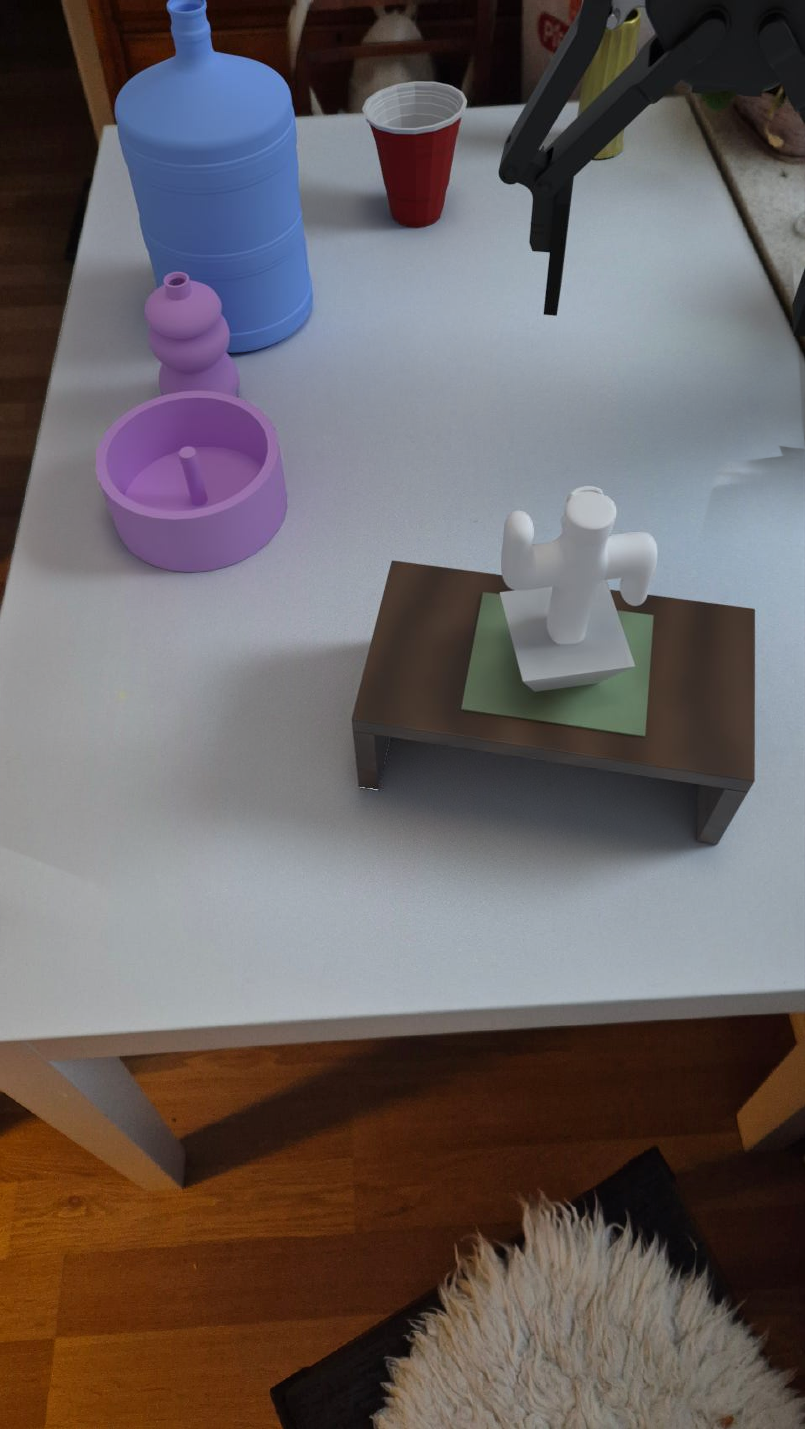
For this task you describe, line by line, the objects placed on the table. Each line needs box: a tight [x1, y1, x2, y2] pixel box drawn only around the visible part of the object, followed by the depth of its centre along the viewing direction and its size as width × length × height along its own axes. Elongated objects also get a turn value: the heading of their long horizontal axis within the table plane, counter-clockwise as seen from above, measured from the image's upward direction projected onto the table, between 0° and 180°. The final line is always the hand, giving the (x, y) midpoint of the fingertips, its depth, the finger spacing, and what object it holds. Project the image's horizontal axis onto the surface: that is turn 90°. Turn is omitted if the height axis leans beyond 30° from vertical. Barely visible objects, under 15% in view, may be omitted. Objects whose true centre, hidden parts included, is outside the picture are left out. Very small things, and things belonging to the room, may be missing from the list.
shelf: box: [351, 559, 756, 846], centre depth 72 cm, size 26×14×10 cm, turn 79°
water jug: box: [114, 0, 314, 354], centre depth 93 cm, size 16×16×28 cm
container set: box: [94, 272, 288, 573], centre depth 87 cm, size 25×15×13 cm, turn 5°
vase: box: [576, 7, 642, 160], centre depth 114 cm, size 6×6×14 cm
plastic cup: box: [361, 81, 468, 228], centre depth 108 cm, size 11×11×12 cm
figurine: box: [500, 485, 659, 692], centre depth 62 cm, size 7×9×15 cm
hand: (674, 311), depth 56 cm, fingers open, 13 cm apart
